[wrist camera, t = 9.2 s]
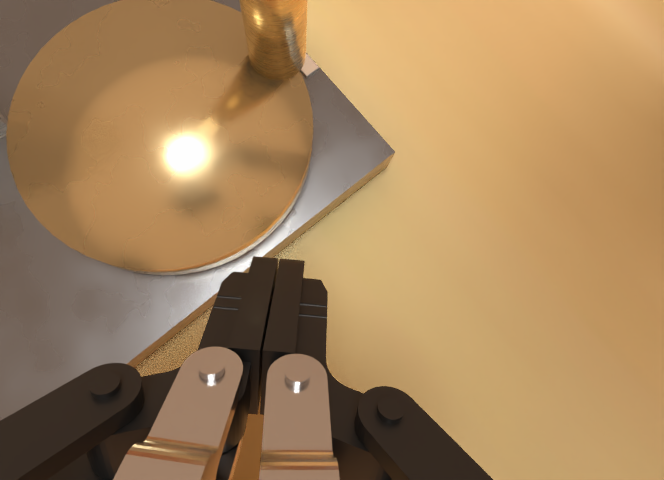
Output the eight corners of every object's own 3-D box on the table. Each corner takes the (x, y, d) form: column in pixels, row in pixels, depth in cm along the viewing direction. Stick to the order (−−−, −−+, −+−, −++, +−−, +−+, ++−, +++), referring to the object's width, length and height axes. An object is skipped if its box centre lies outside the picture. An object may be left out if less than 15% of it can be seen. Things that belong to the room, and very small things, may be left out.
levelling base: (164, -84, 26) (85, -335, 16) (386, 166, 24) (449, 51, 14) (-207, 128, 22) (-618, -39, 12) (22, 456, 20) (-253, 580, 10)
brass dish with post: (72, -3, 22) (-97, -255, 12) (330, 43, 22) (353, -165, 13) (-9, 250, 19) (-306, 170, 10) (288, 295, 20) (280, 261, 10)
